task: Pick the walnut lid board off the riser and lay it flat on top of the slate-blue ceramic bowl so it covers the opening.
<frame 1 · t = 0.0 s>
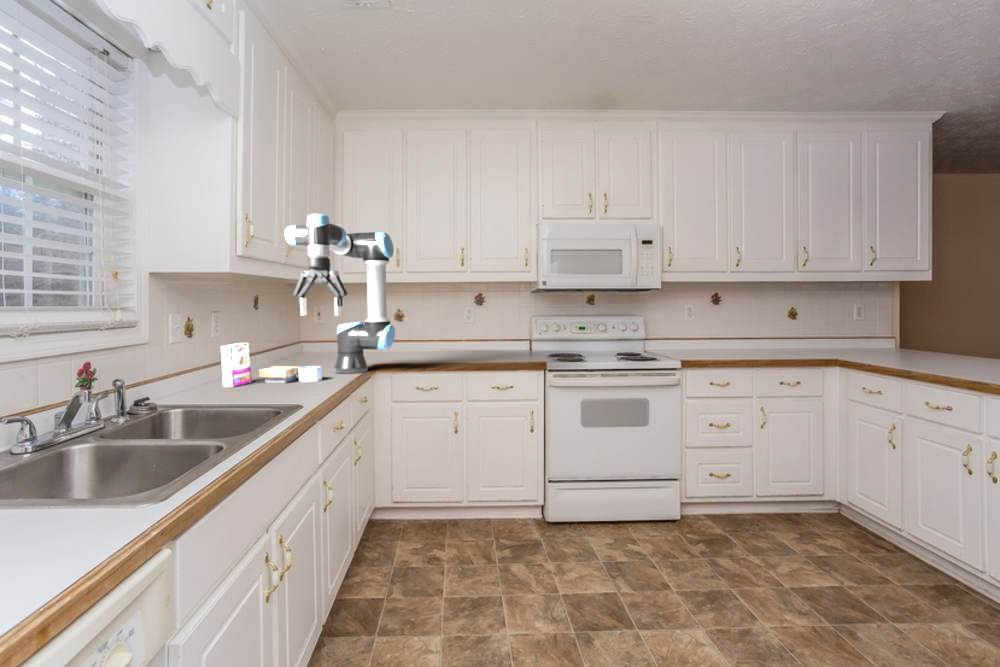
hand: (320, 315, 185), 28 cm above the counter, tool pointing down, fingers open, 13 cm apart
lid board: (280, 375, 210), point 2 cm above the counter, touching riser
candy bar box: (237, 385, 201), on the counter
riser: (280, 381, 210), on the counter
bowl: (310, 380, 212), on the counter
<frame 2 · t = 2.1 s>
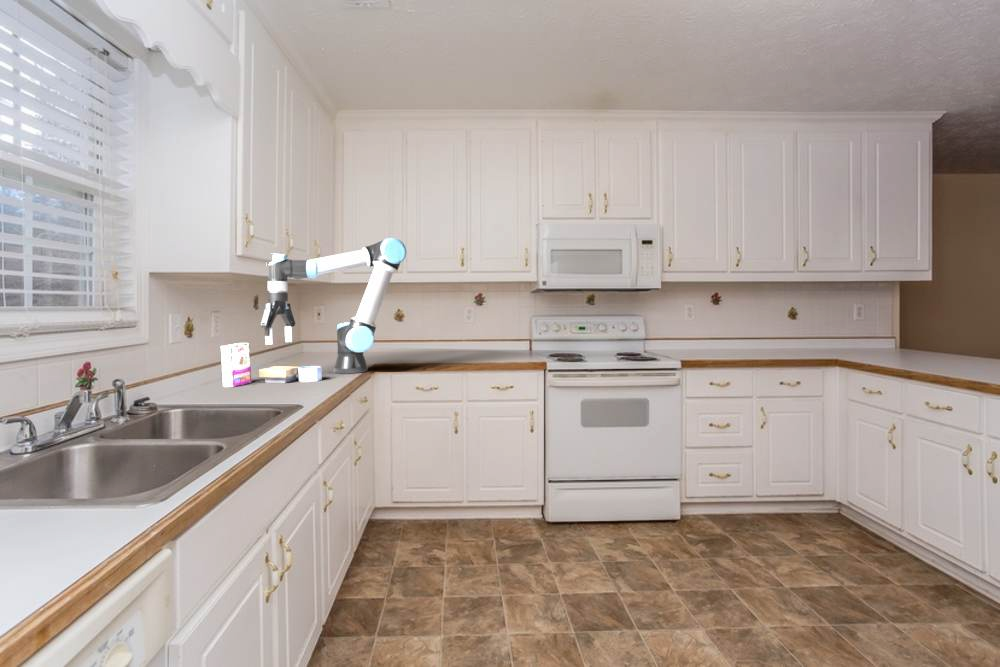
hand: (279, 343, 209), 16 cm above the counter, tool pointing down, fingers open, 13 cm apart
nothing on the counter moved.
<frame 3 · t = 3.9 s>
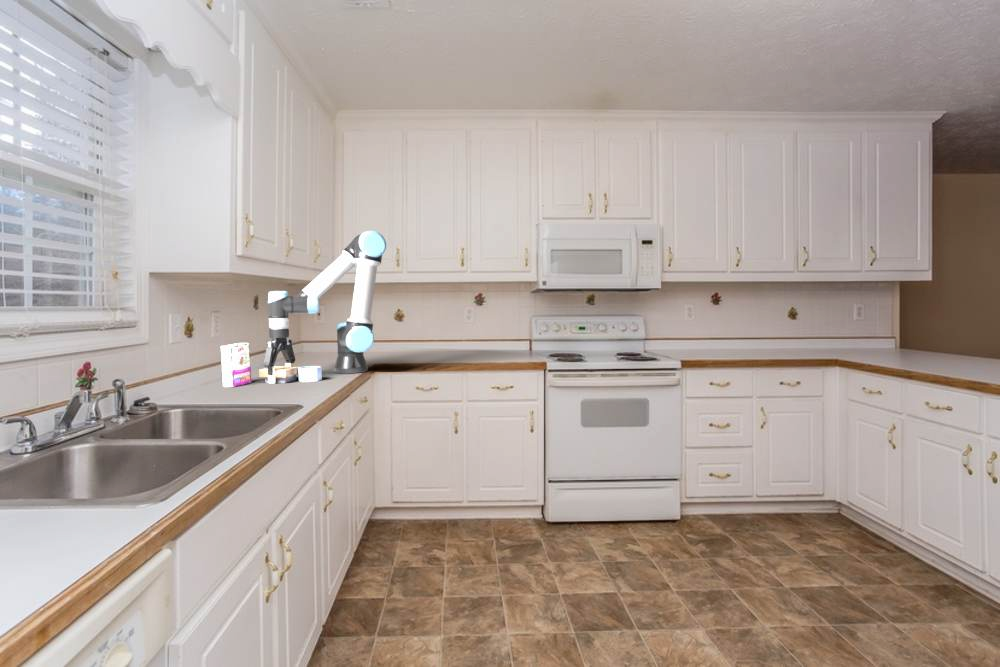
hand: (280, 380, 210), 0 cm above the counter, tool pointing down, fingers closed on lid board, 11 cm apart
lid board: (280, 375, 210), point 2 cm above the counter, touching gripper, riser
everything else where it was.
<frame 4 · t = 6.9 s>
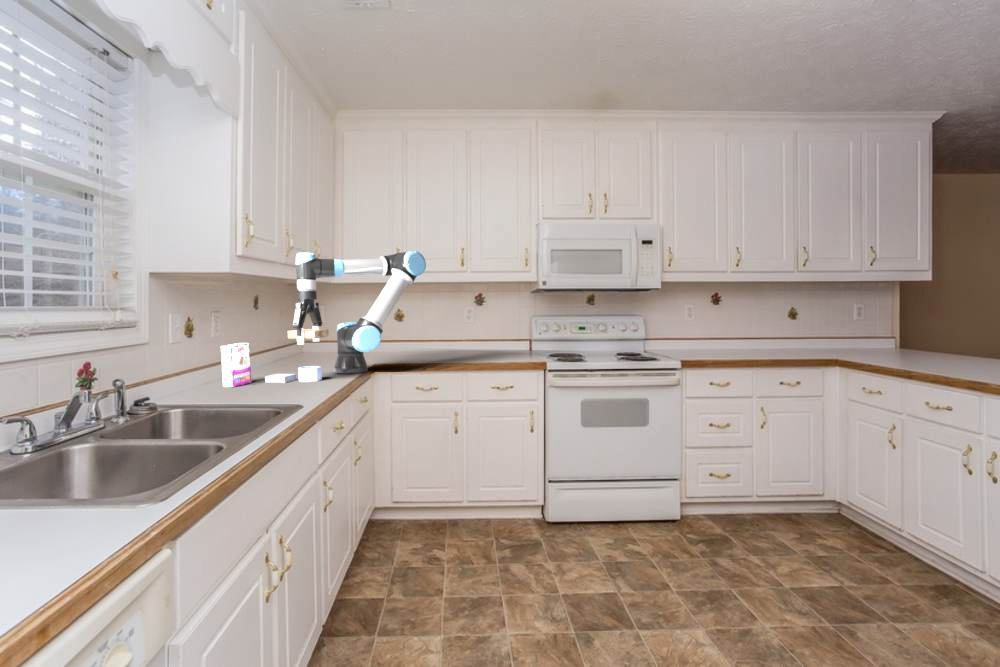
hand: (308, 342, 211), 16 cm above the counter, tool pointing down, fingers closed on lid board, 11 cm apart
lid board: (308, 337, 211), point 18 cm above the counter, touching gripper
everything else where it was.
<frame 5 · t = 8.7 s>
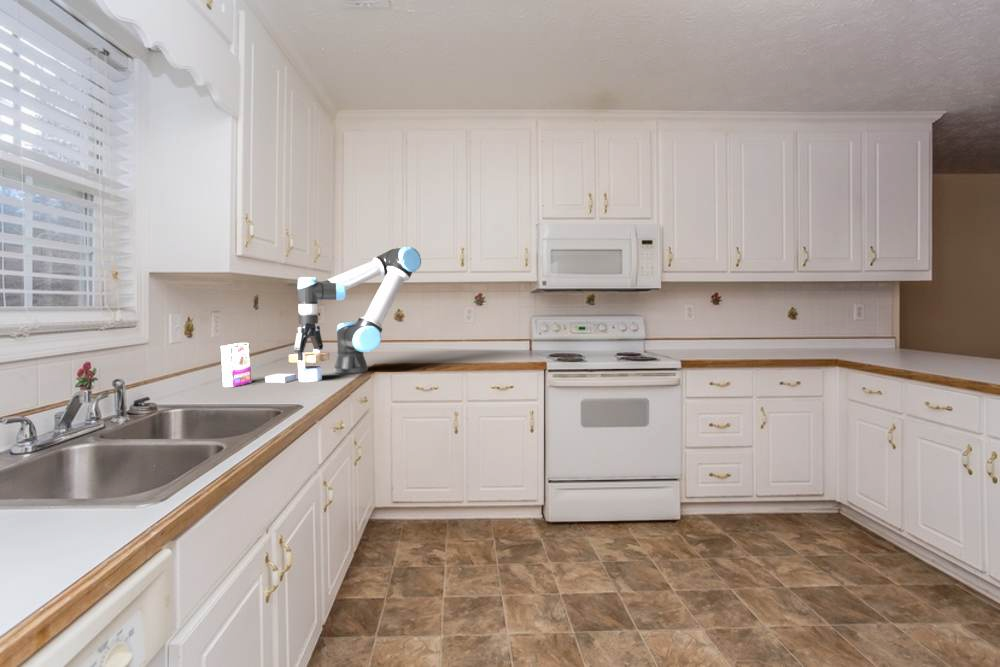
hand: (309, 366, 211), 6 cm above the counter, tool pointing down, fingers closed on lid board, 11 cm apart
lid board: (309, 361, 211), point 8 cm above the counter, touching gripper
everything else where it was.
when the fingers open (4 cm above the counter, at t = 10.0 s): lid board drops 1 cm, resting on bowl.
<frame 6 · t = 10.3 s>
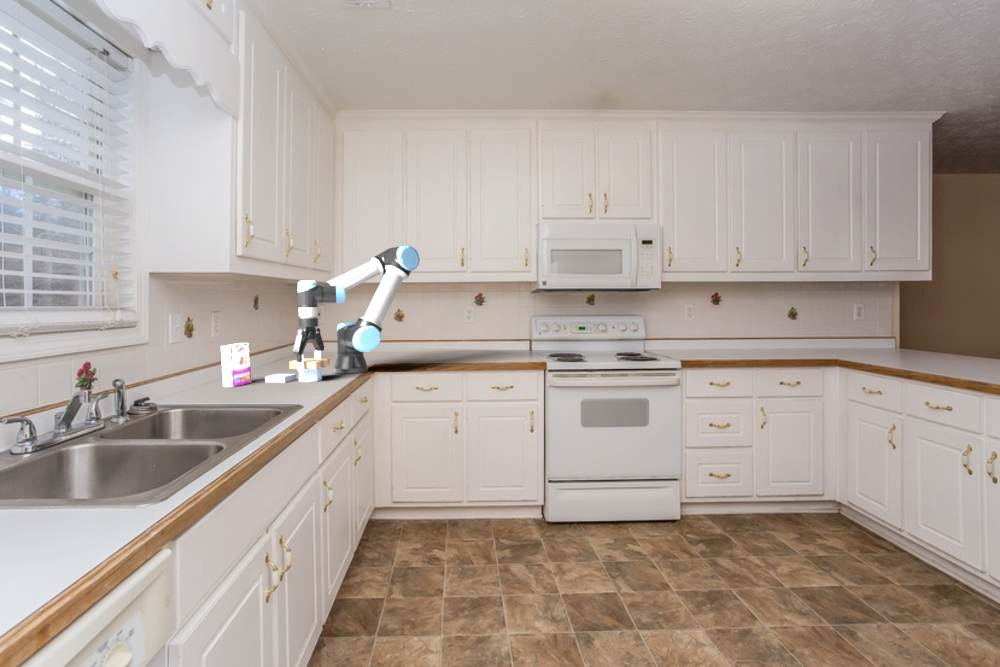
hand: (309, 368, 212), 5 cm above the counter, tool pointing down, fingers open, 13 cm apart
lid board: (310, 367, 212), point 5 cm above the counter, touching bowl
everything else where it was.
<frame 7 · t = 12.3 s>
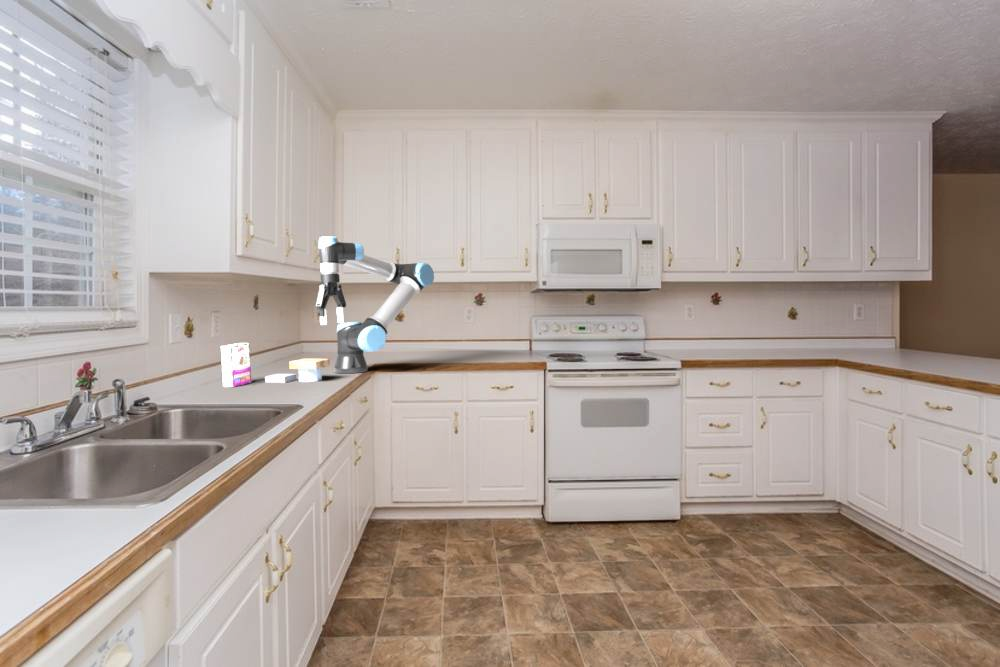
hand: (332, 323, 215), 24 cm above the counter, tool pointing down, fingers open, 13 cm apart
nothing on the counter moved.
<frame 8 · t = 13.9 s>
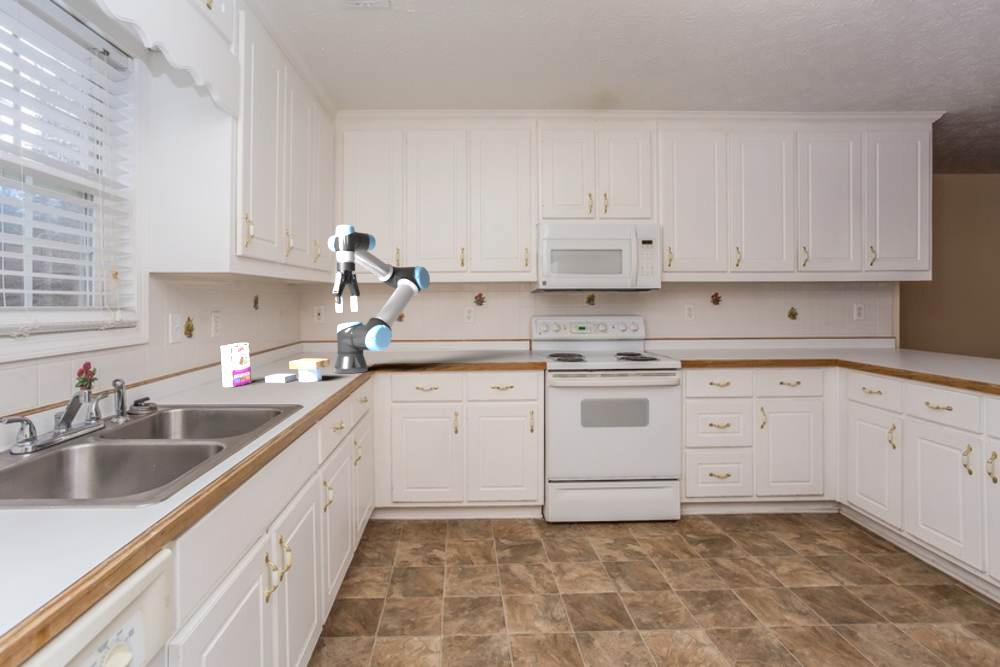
hand: (347, 311, 217), 29 cm above the counter, tool pointing down, fingers open, 13 cm apart
nothing on the counter moved.
at the end: lid board 0.0 cm off-centre on the bowl, point 5.5 cm above the bowl's base; lid board tilted 0°; lid board touching bowl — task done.
